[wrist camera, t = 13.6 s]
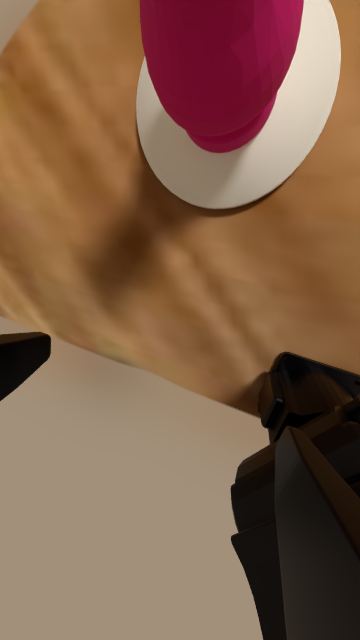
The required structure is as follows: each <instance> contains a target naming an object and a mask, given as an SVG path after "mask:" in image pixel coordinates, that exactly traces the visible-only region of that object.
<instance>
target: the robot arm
mask: <svg viewBox="0 0 360 640" xmlns="http://www.w3.org/2000/svg"><path fill="white" fill-rule="evenodd" d="M50 353H51V337H50V336H49V335H47V334H45V333H42V332H30V333H16V334H2V335H0V401H1V400H2V399H4V398H5V397H6V396H7V395H9V394H10V393H11V392H13V391H14V390H15V389H16V388H17V387H19V385H21V384H22V383H23V382H24V381H25V380H26V379H27V378H28V377H29V376H31V375H32V374H33V373H34V372H35V371H36V370H37V369H38V368H39V367H40V366H41V365H42V364H43V363H44V362H46V361H47V360H48V358H49V357H50ZM286 356H288V357H290V358H289V359H288V360H285V359H284V358H285V357H286ZM356 380H360V375H358V374H355V373H351V372H348V371H345V370H342V369H339V368H336V367H333V366H330V365H327V364H324V363H321V362H318V361H315V360H311V359H308V358H305V357H302V356H299V355H296V354H293V353H290V352H283V353H282V354H281V355H280V357H279V359H278V362H277V364H276V366H275V368H274V370H273V371H270V372H268V375H267V377H266V379H265V381H264V384H263V386H262V388H261V391H260V393H259V400H260V402H259V404H258V412H259V413H260V414H261V423H262V425H263V427H264V428H267V429H268V432H269V440H270V445H268V446H267V447H265V448H263V449H262V450H260V451H258V452H257V453H255V454H253V455H252V456H250V457H248V458H246V459H245V460H243V462H242V463H241V464H240V465H239V467H238V470H237V474H236V479H235V484H233V485H232V486H231V501H232V509H233V514H234V519H235V524H236V527H237V530H238V533H237V534H234V535H232V536H231V542H232V545H233V547H234V549H235V551H236V553H237V555H238V557H239V559H240V562H241V564H242V566H243V568H244V571H245V573H246V577H247V579H248V582H249V585H250V588H251V591H252V594H253V597H254V601H255V605H256V609H257V613H258V617H259V622H260V626H261V631H262V635H263V640H360V381H359V382H358V383H354V382H355V381H356Z"/></svg>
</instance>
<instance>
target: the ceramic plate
mask: <svg viewBox="0 0 360 640" xmlns="http://www.w3.org/2000/svg"><path fill="white" fill-rule="evenodd" d="M340 61H341V52H340V37H339V31H338V25H337V21H336V18H335V15H334V11H333V8H332V6H331V4H330V2H329V0H304V6H303V14H302V21H301V28H300V34H299V38H298V43H297V47H296V52H295V54H294V57H293V60H292V62H291V65H290V68H289V70H288V72H287V74H286V76H285V78H284V81H283V83H282V85H281V87H280V88H279V90H278V92H277V96H276V100H275V104H274V107H273V109H272V111H271V114H270V116H269V118H268V120H267V121H266V123H265V125H264V126H263V128H262V129H261V130H260V131H259V133H258V134H257V135H256V136H255V137H254V138H253V139H252V140H250V141H249V142H248V143H247V144H245V145H244V146H242V147H240V148H239V149H236V150H233V151H230V152H226V153H212V152H209V151H206V150H204V149H202V148H200V147H199V146H197V145H196V144H195V143H194V142H193V141H192V140H191V139H190V137H189V136H188V134H187V132H186V130H185V129H183V128H182V127H180V126H179V125H177V124H176V123H175V122H174V121H173V120H172V118H171V117H170V116H169V115H168V114H167V113H166V111H165V110H164V108H163V106H162V104H161V103H160V101H159V98H158V96H157V94H156V91H155V89H154V86H153V84H152V81H151V79H150V76H149V73H148V68H147V63H146V58H145V57H144V61H143V65H142V68H141V72H140V77H139V83H138V89H137V101H136V113H137V125H138V133H139V137H140V142H141V145H142V148H143V151H144V154H145V157H146V159H147V161H148V163H149V165H150V167H151V169H152V170H153V172H154V173H155V175H156V177H157V178H158V179H159V180H160V181H161V183H162V184H163V185H164V186H165V187H166V188H167V189H169V190H170V191H171V192H172V193H173V194H174V195H176V196H177V197H179V198H180V199H182V200H183V201H186V202H188V203H190V204H192V205H195V206H198V207H201V208H207V209H230V208H236V207H240V206H243V205H247V204H249V203H251V202H254V201H256V200H258V199H260V198H262V197H263V196H265V195H267V194H269V193H270V192H272V191H273V190H274V189H276V188H277V187H278V186H280V185H281V184H282V183H283V182H284V181H285V180H286V179H287V178H288V177H290V176H291V175H292V174H293V172H294V171H295V170H296V169H297V168H298V167H299V166H300V164H301V163H302V162H303V160H304V159H305V158H306V156H307V155H308V153H309V152H310V150H311V149H312V147H313V146H314V144H315V142H316V141H317V139H318V137H319V135H320V133H321V132H322V130H323V128H324V125H325V123H326V121H327V118H328V116H329V114H330V111H331V108H332V105H333V101H334V98H335V95H336V90H337V85H338V80H339V73H340Z"/></svg>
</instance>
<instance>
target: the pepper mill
mask: <svg viewBox="0 0 360 640" xmlns="http://www.w3.org/2000/svg"><path fill="white" fill-rule="evenodd" d="M303 6H304V0H140V23H141V33H142V43H143V48H144V53H145V58H146V63H147V68H148V73H149V76H150V79H151V81H152V84H153V86H154V89H155V91H156V94H157V96H158V98H159V101H160V103H161V104H162V106H163V108H164V110H165V111H166V113H167V114H168V115H169V116H170V117H171V118H172V120H173V121H174V122H175V123H176V124H177V125H179V126H180V127H182V128H183V129H185V130H186V132H187V134H188V136H189V137H190V139H191V140H192V141H193V142H194V143H195V144H196V145H197V146H199V147H200V148H202V149H204V150H206V151H209V152H212V153H226V152H230V151H233V150H236V149H239V148H240V147H242V146H244V145H245V144H247V143H248V142H249V141H250V140H252V139H253V138H254V137H255V136H256V135H257V134H258V133H259V131H260V130H261V129H262V128H263V126H264V125H265V123H266V121H267V120H268V118H269V116H270V114H271V111H272V109H273V107H274V104H275V100H276V96H277V92H278V90H279V88H280V87H281V85H282V83H283V81H284V78H285V76H286V74H287V72H288V70H289V68H290V65H291V62H292V60H293V57H294V54H295V52H296V47H297V43H298V38H299V34H300V28H301V21H302V14H303Z"/></svg>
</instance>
